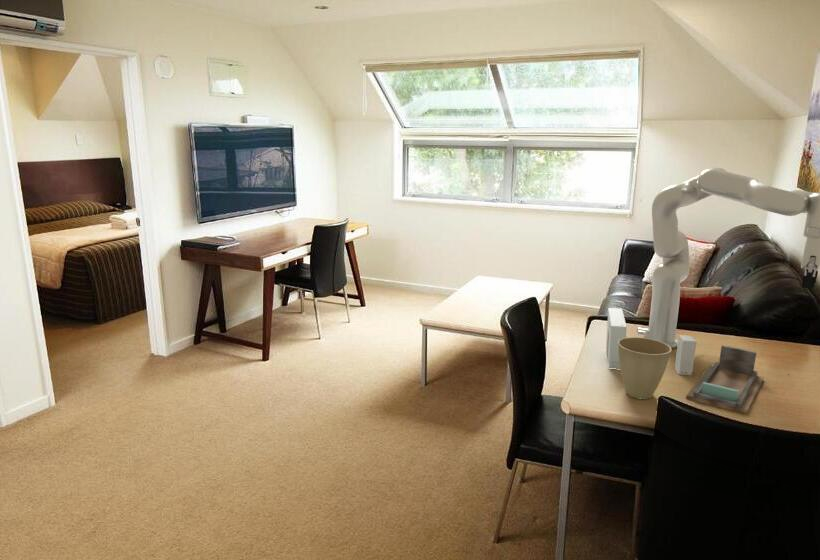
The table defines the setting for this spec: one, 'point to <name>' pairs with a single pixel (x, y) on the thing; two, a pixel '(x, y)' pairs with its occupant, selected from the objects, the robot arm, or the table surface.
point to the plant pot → (642, 365)
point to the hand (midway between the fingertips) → (808, 285)
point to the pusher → (719, 392)
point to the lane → (730, 379)
